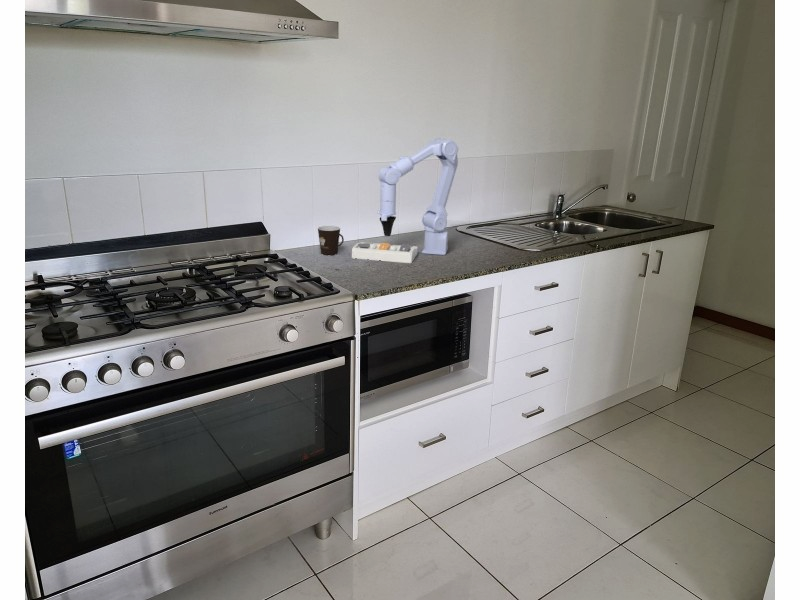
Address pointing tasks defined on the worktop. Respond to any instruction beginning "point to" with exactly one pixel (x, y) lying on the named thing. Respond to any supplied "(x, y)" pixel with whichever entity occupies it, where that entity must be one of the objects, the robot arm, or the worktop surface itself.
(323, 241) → the coffee mug
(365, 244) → the rocker
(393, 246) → the power strip
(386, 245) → the rocker middle
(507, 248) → the worktop surface
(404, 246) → the rocker
